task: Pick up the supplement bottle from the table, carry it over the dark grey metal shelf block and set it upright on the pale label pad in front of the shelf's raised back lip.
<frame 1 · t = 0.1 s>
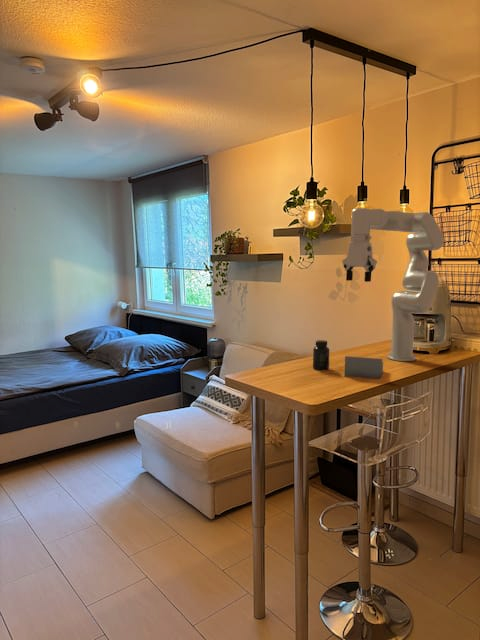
hand: (358, 281, 193), 37 cm above the table, tool pointing down, fingers open, 9 cm apart
shelf block: (364, 373, 189), on the table
supplement bottle: (320, 369, 197), on the table
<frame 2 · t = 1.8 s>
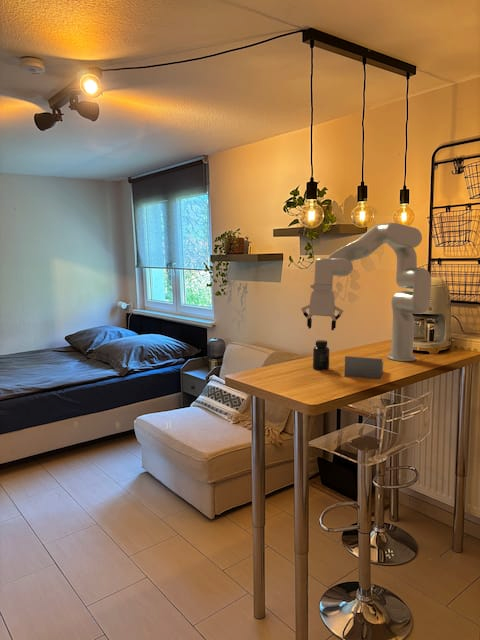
hand: (321, 329, 195), 17 cm above the table, tool pointing down, fingers open, 9 cm apart
nothing on the table moved.
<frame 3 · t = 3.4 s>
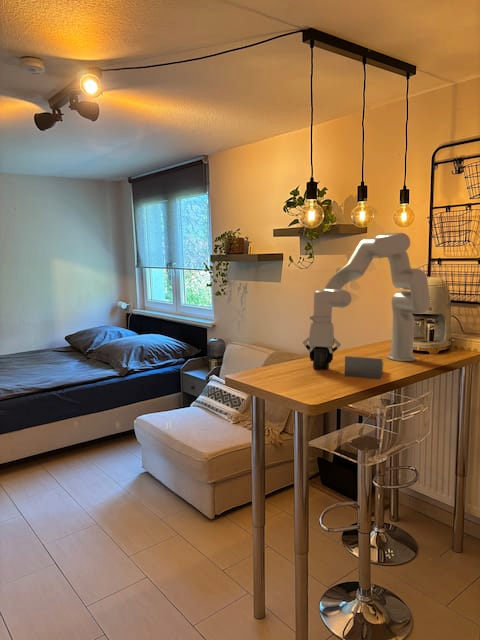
hand: (321, 361, 197), 3 cm above the table, tool pointing down, fingers closed on supplement bottle, 6 cm apart
supplement bottle: (320, 369, 197), on the table, touching gripper
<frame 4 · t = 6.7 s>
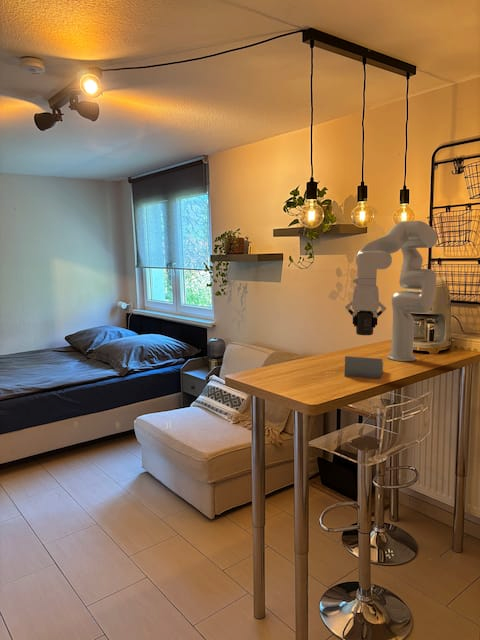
hand: (364, 326, 188), 19 cm above the table, tool pointing down, fingers closed on supplement bottle, 6 cm apart
supplement bottle: (364, 334, 188), point 16 cm above the table, touching gripper
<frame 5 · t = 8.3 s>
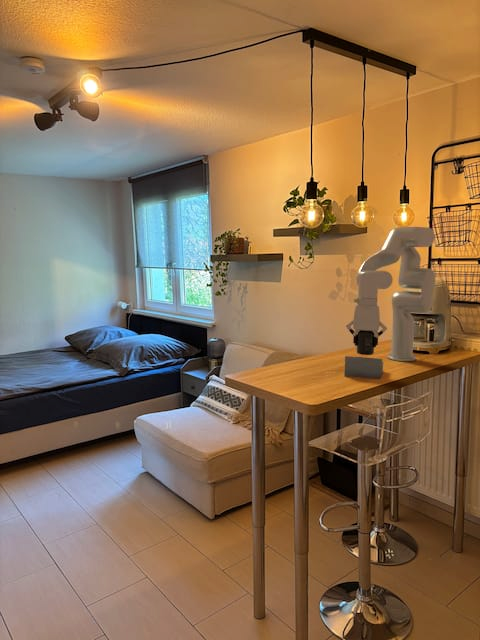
hand: (365, 345, 189), 11 cm above the table, tool pointing down, fingers closed on supplement bottle, 6 cm apart
supplement bottle: (364, 354, 189), point 8 cm above the table, touching gripper
when the fingers open (9 cm above the table, at t = 9.8 s): supplement bottle drops 1 cm, resting on shelf block.
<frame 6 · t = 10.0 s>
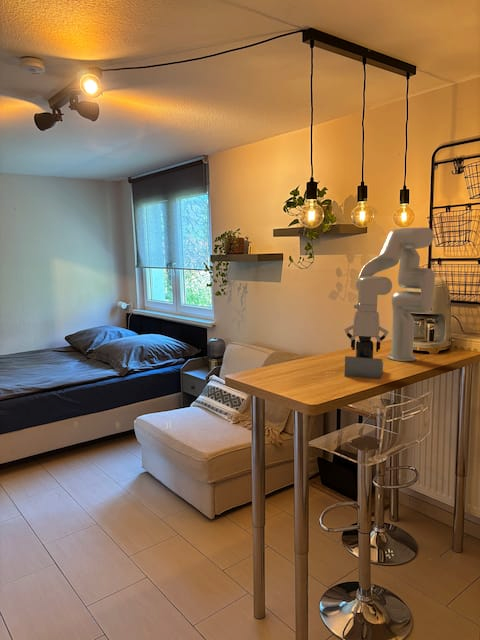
hand: (365, 350, 189), 9 cm above the table, tool pointing down, fingers open, 9 cm apart
supplement bottle: (364, 363, 190), point 4 cm above the table, touching shelf block
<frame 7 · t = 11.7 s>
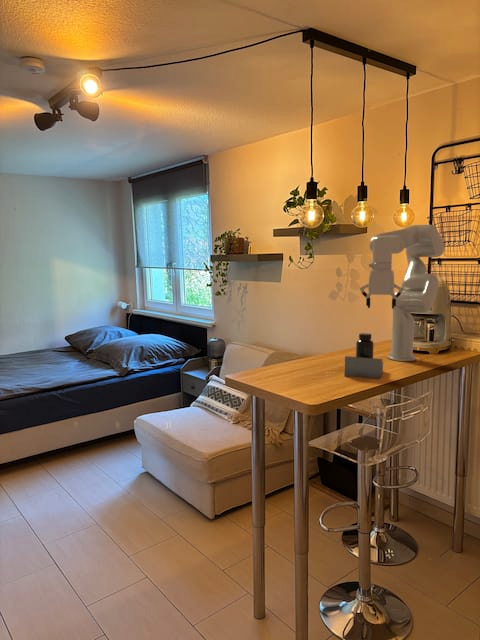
hand: (380, 307, 194), 26 cm above the table, tool pointing down, fingers open, 9 cm apart
nothing on the table moved.
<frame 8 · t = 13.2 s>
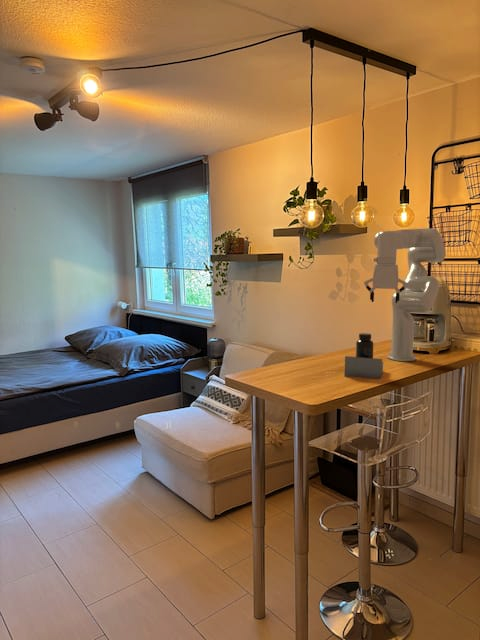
hand: (384, 302, 195), 28 cm above the table, tool pointing down, fingers open, 9 cm apart
nothing on the table moved.
at the end: supplement bottle inside the target area on the shelf block (0.2 cm from its centre), point 4.0 cm above the shelf block's base; supplement bottle tilted 0°; the gripper is holding nothing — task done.
